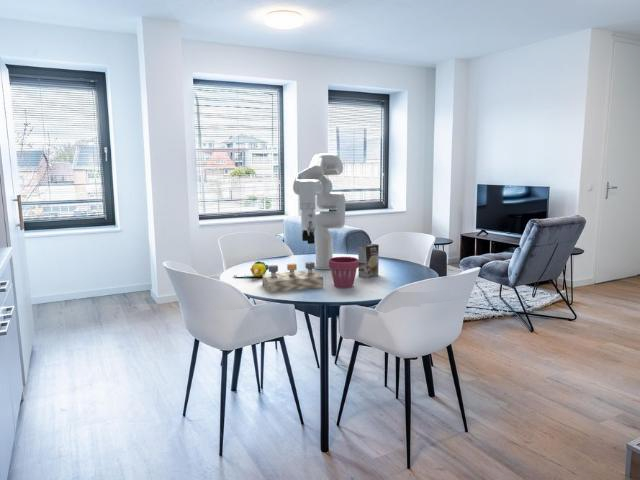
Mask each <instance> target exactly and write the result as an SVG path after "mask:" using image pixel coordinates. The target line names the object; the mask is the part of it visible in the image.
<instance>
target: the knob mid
mask: <svg viewBox="0 0 640 480" xmlns="http://www.w3.org/2000/svg"><path fill="white" fill-rule="evenodd" d="M286 265H287V266H286V270H287V271H289V272H290V277H291V276H294V272H295V271H298V270H297V268H298V267H297V264H296V263H288V264H286Z"/></svg>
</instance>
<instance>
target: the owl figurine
mask: <svg viewBox="0 0 640 480" xmlns="http://www.w3.org/2000/svg"><path fill="white" fill-rule="evenodd" d="M269 266H270V264H266V263H265V262H263V261H255V262H254V263H253V264H252V265H251V268H249V269H250V272H251V274H252V275H254V276H250V275H244V276H245V277H244V278H262V274H267V271H269ZM234 276H238V275H237V274H235V275H233V277H234ZM247 276H248V277H247Z"/></svg>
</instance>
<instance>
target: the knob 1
mask: <svg viewBox="0 0 640 480" xmlns="http://www.w3.org/2000/svg"><path fill="white" fill-rule="evenodd" d="M268 267H269V269H268V272H269V273H270V274H271V278H276V273H278V271H279V265H278V264H272V265H270V264H269V266H268Z"/></svg>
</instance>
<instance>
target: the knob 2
mask: <svg viewBox="0 0 640 480" xmlns="http://www.w3.org/2000/svg"><path fill="white" fill-rule="evenodd" d="M315 264H316V262H313V261H310V262H309V261H308V262H305V266H304V267H305V269H306V270H307V271H308V275H313V273H312V270H314V269H315Z"/></svg>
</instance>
